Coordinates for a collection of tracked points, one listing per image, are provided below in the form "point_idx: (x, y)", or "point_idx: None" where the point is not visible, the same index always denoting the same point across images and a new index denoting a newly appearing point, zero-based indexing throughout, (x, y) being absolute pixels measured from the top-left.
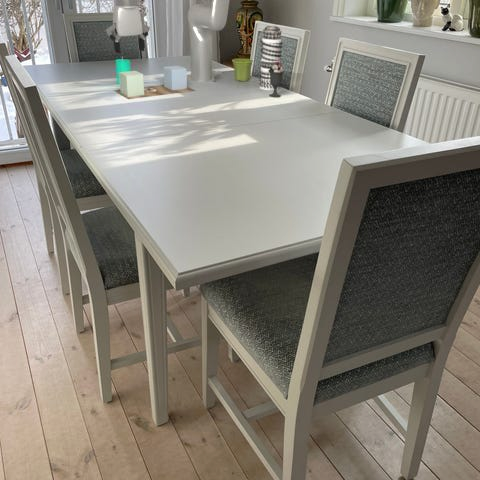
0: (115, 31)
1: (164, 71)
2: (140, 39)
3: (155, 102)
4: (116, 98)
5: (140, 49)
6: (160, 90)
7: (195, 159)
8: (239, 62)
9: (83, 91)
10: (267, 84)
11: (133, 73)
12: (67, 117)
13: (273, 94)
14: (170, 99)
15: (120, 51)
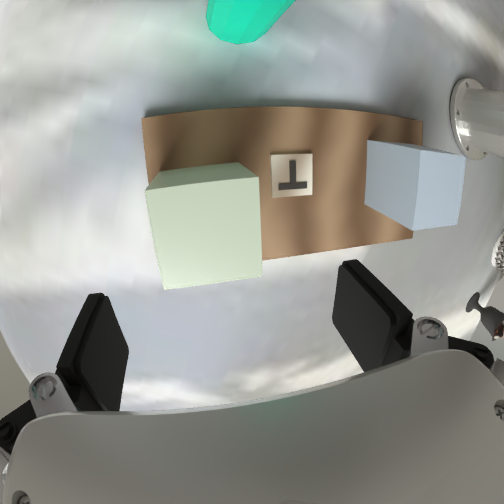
0: (32, 447)
1: (406, 154)
2: (388, 355)
3: (251, 299)
4: (132, 209)
5: (338, 292)
6: (329, 190)
7: None
8: None
9: (49, 69)
10: (500, 265)
11: (219, 244)
12: (15, 344)
13: (471, 307)
14: (311, 279)
15: (126, 359)
